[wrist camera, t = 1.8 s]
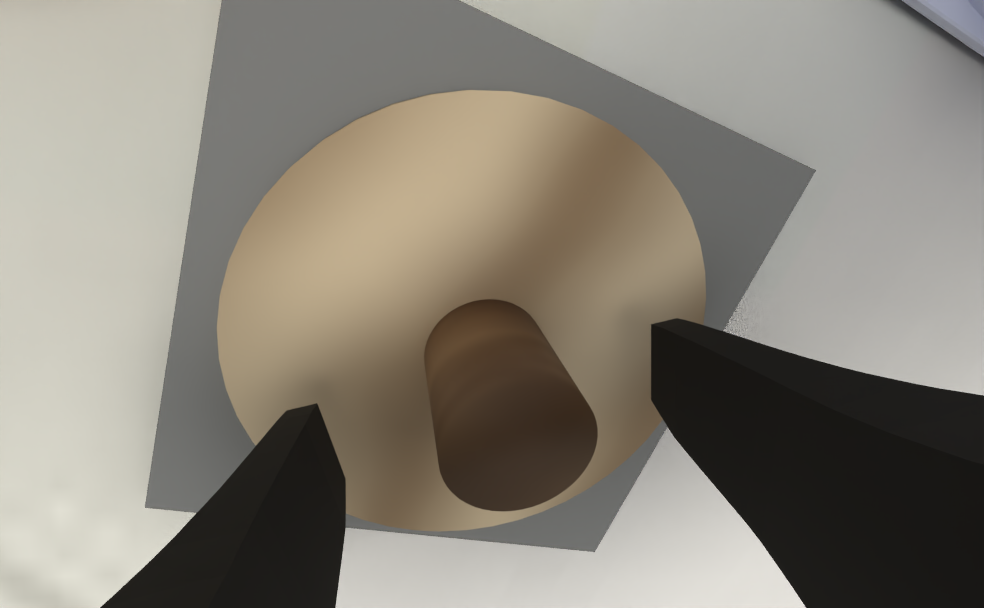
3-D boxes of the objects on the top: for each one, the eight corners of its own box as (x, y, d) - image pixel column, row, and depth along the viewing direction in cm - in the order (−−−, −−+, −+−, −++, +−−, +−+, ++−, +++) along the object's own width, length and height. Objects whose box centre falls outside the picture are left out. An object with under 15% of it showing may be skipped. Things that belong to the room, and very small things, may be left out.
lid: (767, 193, 12) (936, 239, 9) (582, 527, 16) (643, 661, 12) (285, -13, 9) (204, -95, 5) (193, 484, 13) (109, 658, 9)
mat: (807, 168, 13) (816, 169, 12) (591, 544, 17) (594, 551, 17) (242, -99, 8) (237, -105, 8) (149, 498, 13) (144, 507, 13)
